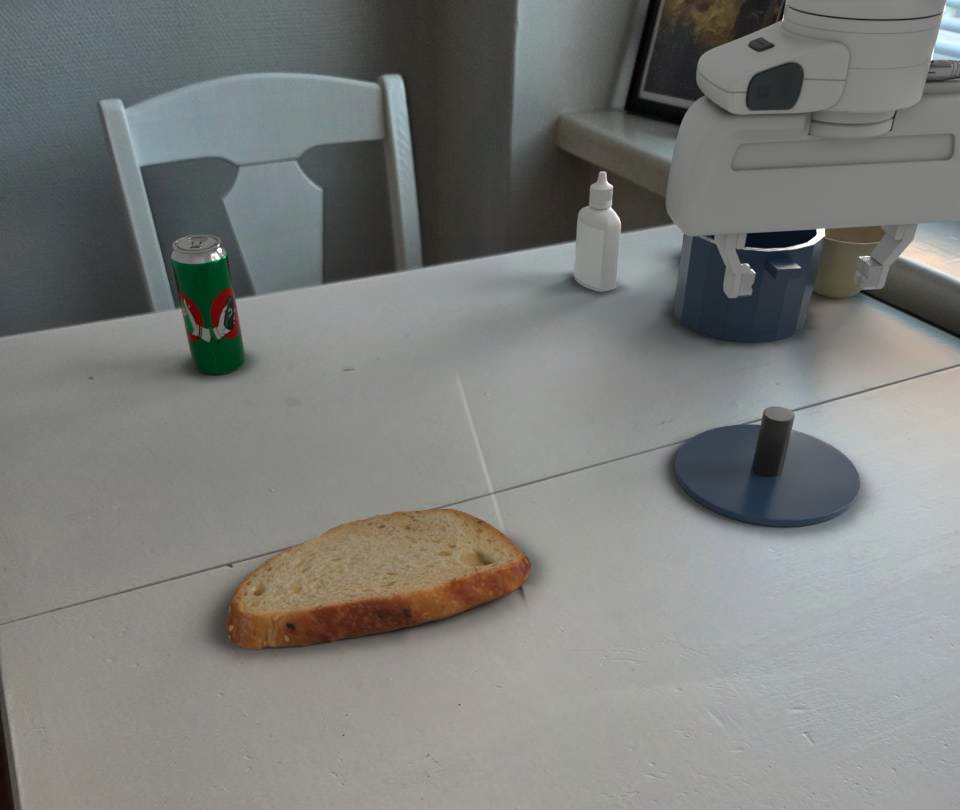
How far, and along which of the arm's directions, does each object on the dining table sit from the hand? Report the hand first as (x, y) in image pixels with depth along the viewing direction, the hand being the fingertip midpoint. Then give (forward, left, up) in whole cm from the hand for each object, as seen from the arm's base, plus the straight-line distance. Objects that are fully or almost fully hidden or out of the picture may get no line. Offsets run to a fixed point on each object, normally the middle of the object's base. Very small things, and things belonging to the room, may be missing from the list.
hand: (802, 290), depth 68 cm
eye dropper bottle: (+3, -44, -17) cm, 47 cm away
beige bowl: (-23, -38, -17) cm, 48 cm away
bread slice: (+31, +8, -17) cm, 36 cm away
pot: (-10, -33, -17) cm, 38 cm away
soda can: (+44, -30, -17) cm, 56 cm away
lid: (-1, -2, -16) cm, 16 cm away
